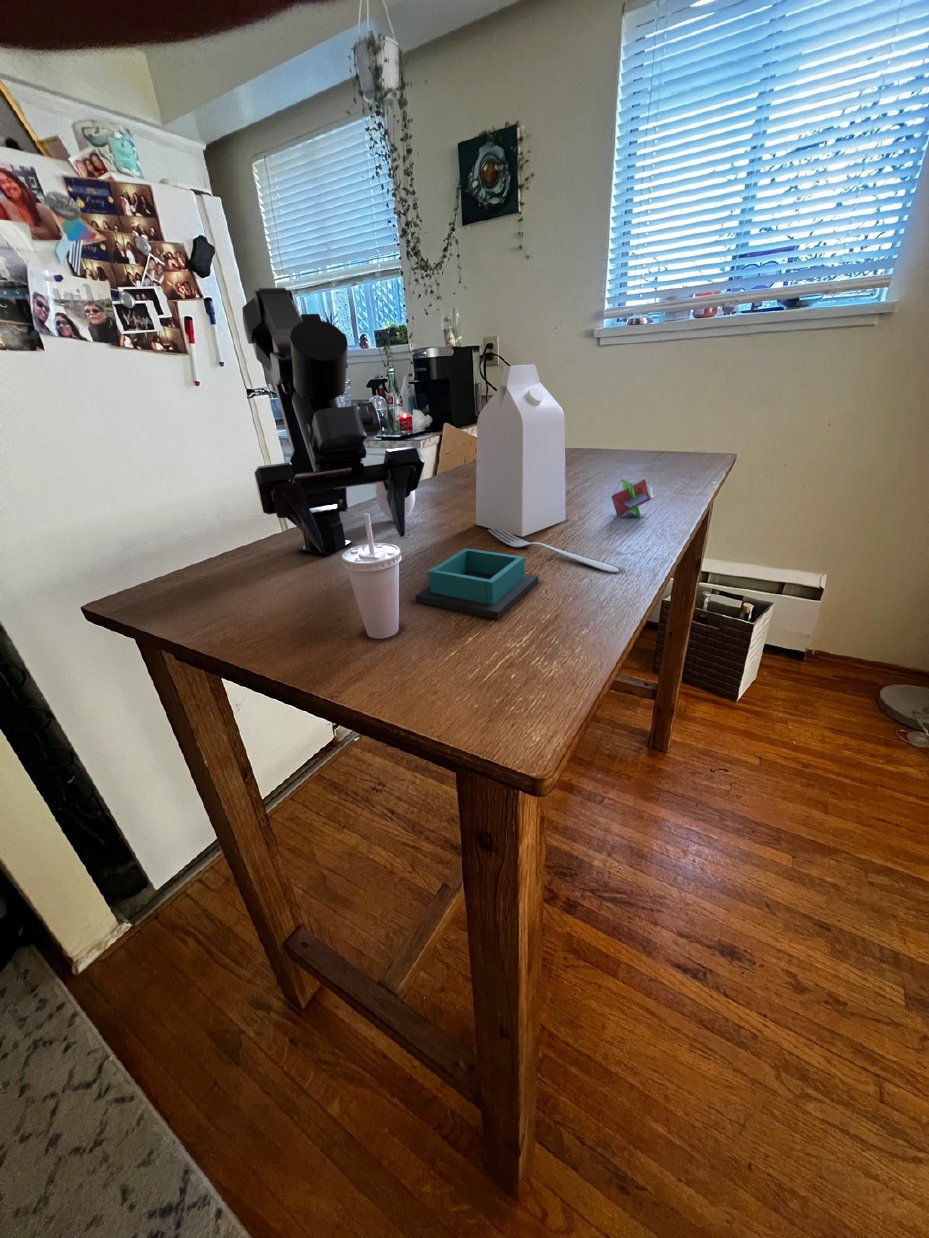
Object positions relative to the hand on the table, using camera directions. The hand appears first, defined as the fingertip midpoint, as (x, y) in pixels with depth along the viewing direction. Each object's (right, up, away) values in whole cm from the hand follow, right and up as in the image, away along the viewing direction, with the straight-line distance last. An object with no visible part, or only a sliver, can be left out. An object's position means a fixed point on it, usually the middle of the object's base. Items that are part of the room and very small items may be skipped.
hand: (363, 542), depth 56 cm
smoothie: (+2, -10, +3) cm, 11 cm away
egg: (-2, +11, +43) cm, 44 cm away
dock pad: (+13, -5, +11) cm, 18 cm away
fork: (+24, +2, +22) cm, 33 cm away
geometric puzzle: (+42, +11, +37) cm, 57 cm away
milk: (+22, +9, +37) cm, 44 cm away
